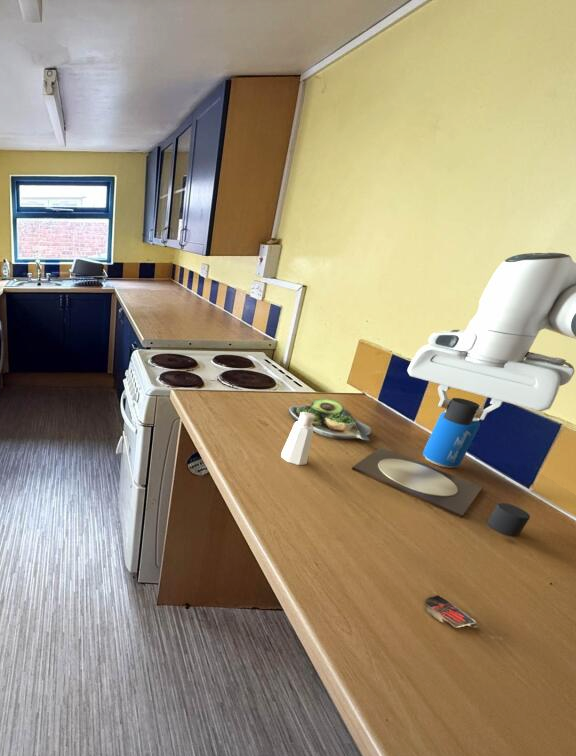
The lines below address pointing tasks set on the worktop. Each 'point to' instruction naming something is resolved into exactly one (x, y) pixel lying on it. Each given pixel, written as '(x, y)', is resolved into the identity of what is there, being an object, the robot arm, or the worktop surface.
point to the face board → (419, 481)
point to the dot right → (508, 519)
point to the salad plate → (332, 420)
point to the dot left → (461, 411)
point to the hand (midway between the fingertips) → (460, 412)
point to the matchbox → (448, 612)
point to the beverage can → (449, 442)
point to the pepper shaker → (299, 440)
